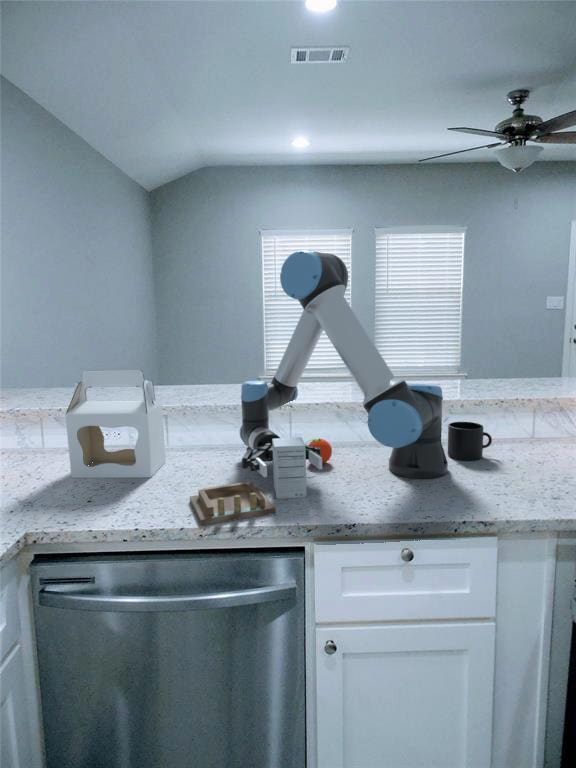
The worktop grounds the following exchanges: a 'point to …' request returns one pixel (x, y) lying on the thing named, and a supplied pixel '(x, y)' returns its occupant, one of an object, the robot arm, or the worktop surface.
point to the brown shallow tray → (230, 503)
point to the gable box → (113, 414)
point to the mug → (466, 441)
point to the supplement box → (289, 467)
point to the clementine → (322, 448)
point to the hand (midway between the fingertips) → (293, 467)
